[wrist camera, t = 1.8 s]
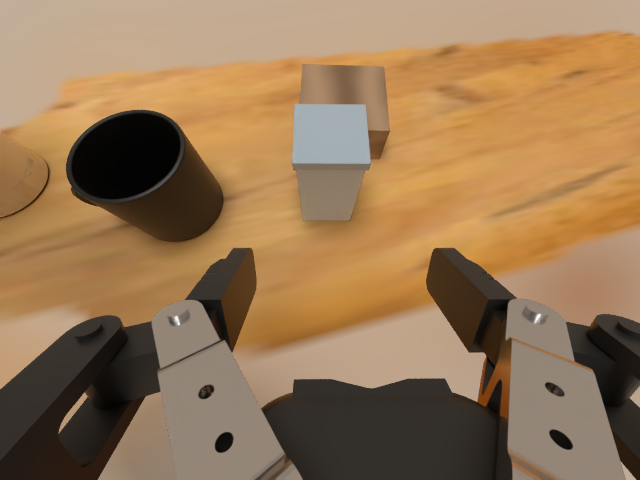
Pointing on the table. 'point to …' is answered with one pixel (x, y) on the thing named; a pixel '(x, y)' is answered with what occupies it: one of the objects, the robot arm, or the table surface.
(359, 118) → the grey lidded pillar
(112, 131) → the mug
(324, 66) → the walnut block
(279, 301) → the table surface
